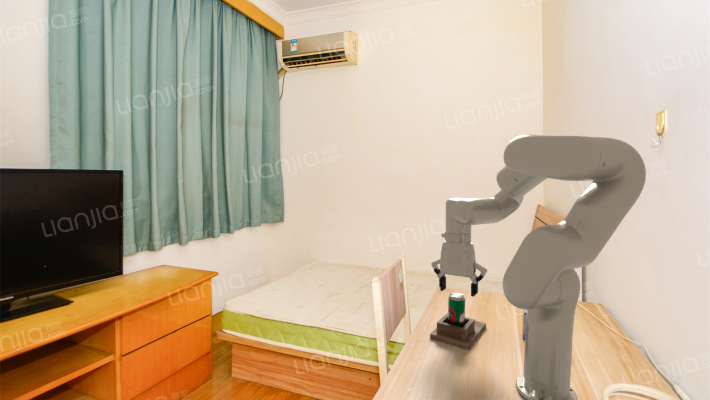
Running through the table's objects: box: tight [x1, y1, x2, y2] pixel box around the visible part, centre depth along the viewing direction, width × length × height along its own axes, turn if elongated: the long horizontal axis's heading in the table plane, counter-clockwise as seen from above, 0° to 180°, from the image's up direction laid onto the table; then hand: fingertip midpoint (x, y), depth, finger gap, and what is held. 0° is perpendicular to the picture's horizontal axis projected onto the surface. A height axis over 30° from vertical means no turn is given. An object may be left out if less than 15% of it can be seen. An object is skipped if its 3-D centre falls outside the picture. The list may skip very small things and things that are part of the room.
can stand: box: [429, 312, 487, 351], centre depth 111 cm, size 18×12×5 cm, turn 144°
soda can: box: [447, 292, 466, 328], centre depth 108 cm, size 5×5×12 cm
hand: (458, 292), depth 107 cm, fingers open, 9 cm apart
